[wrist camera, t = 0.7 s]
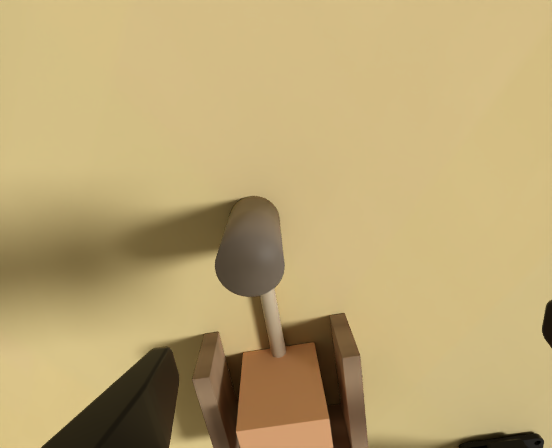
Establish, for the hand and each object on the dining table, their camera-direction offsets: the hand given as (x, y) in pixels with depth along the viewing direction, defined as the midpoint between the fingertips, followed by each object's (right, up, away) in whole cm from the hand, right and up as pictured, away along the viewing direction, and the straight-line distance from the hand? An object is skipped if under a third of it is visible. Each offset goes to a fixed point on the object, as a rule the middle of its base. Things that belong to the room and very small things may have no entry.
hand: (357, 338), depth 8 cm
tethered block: (-2, -3, +14) cm, 15 cm away
